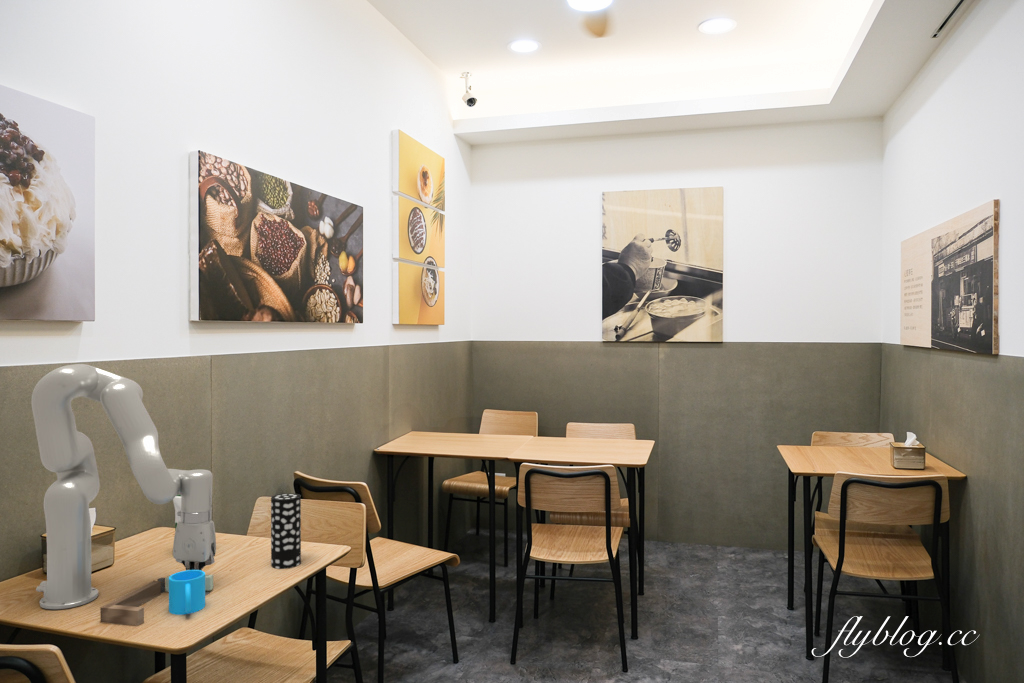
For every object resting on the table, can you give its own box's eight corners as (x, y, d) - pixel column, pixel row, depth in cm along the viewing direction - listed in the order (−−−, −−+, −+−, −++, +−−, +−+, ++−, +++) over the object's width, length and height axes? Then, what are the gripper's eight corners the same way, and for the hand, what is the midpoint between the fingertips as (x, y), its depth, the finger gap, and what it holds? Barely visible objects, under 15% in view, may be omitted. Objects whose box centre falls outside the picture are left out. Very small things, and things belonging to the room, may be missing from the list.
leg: (165, 591, 179) (165, 578, 179) (168, 588, 181) (168, 575, 181) (210, 590, 180) (210, 577, 180) (213, 587, 182) (213, 574, 182)
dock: (100, 622, 161) (100, 607, 161) (162, 589, 182) (162, 576, 182) (152, 627, 159) (152, 612, 159) (209, 593, 180) (209, 579, 180)
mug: (168, 605, 172) (168, 572, 172) (204, 599, 175) (204, 567, 175) (169, 623, 161) (168, 588, 161) (206, 616, 165) (206, 583, 165)
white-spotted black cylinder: (265, 567, 200) (265, 498, 199) (282, 558, 208) (282, 492, 207) (289, 570, 197) (289, 500, 197) (306, 561, 205) (306, 494, 205)
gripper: (161, 518, 181) (159, 587, 181) (213, 522, 178) (211, 592, 178) (179, 511, 188) (178, 577, 188) (229, 515, 186) (227, 582, 186)
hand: (194, 584), depth 183 cm, fingers closed
